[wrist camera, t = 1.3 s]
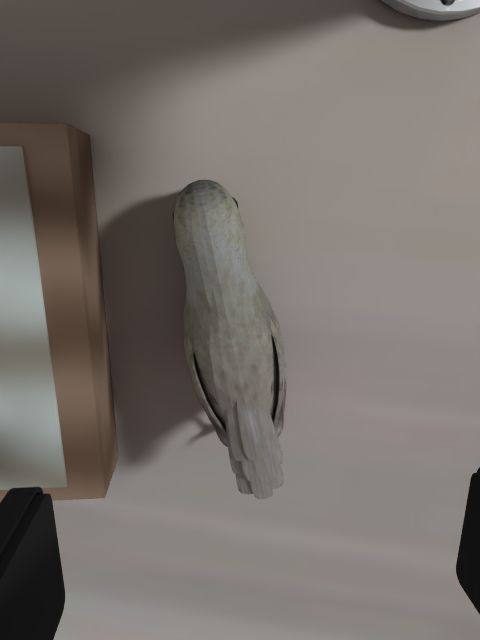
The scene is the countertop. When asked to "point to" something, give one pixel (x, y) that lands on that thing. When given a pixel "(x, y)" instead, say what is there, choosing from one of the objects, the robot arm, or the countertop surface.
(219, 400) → the decorative bird
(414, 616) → the countertop surface
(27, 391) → the walnut plinth
